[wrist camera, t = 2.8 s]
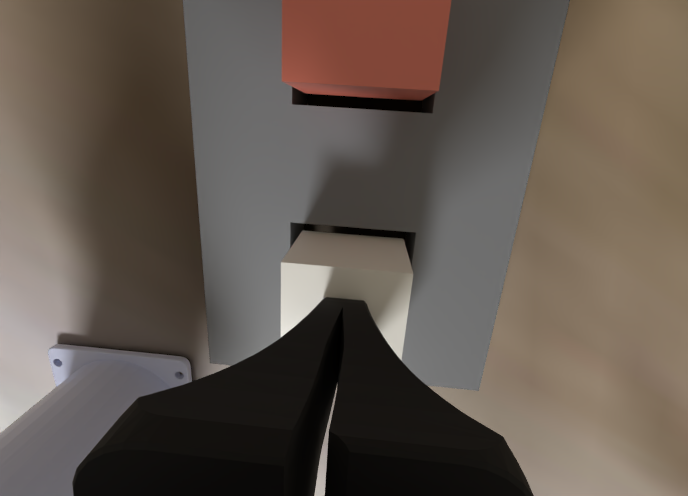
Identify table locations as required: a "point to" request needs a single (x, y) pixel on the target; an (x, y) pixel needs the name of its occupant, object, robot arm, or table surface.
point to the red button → (364, 47)
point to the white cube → (348, 279)
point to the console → (367, 173)
